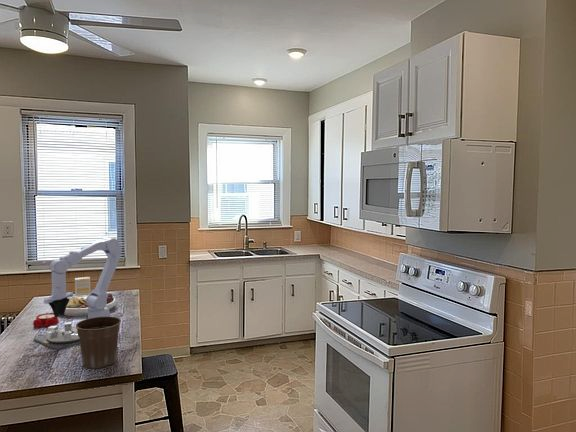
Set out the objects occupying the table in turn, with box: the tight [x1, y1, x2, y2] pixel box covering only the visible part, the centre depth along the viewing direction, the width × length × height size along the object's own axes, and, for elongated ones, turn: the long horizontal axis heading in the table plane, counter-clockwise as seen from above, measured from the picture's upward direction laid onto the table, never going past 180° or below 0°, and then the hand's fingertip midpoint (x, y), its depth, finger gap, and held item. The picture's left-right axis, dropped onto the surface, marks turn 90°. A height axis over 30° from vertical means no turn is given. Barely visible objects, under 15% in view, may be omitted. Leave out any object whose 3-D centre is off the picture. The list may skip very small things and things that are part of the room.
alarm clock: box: [32, 312, 60, 329], centre depth 216 cm, size 10×6×15 cm
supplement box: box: [74, 276, 92, 297], centre depth 264 cm, size 8×5×13 cm, turn 120°
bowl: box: [63, 292, 116, 317], centre depth 243 cm, size 30×30×8 cm
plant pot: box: [75, 316, 122, 370], centre depth 171 cm, size 16×16×16 cm
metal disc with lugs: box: [45, 321, 80, 343], centre depth 196 cm, size 17×17×4 cm
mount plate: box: [33, 334, 80, 351], centre depth 197 cm, size 20×20×1 cm
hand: (59, 315), depth 200 cm, fingers open, 2 cm apart
